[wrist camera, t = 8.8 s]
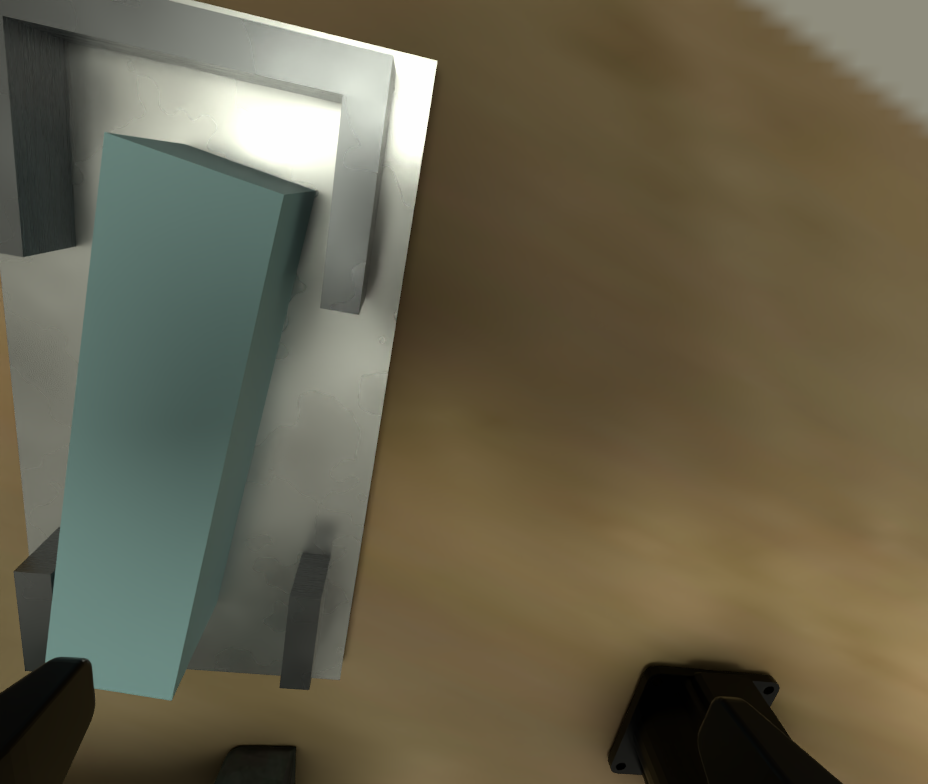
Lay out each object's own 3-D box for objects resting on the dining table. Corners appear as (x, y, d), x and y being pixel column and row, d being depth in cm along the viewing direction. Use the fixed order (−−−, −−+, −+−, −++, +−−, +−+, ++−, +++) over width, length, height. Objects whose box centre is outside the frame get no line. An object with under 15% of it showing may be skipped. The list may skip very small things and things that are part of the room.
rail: (216, 602, 20) (171, 700, 16) (114, 582, 19) (43, 680, 15) (316, 190, 15) (283, 194, 11) (184, 144, 14) (104, 132, 11)
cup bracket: (342, 659, 23) (332, 731, 20) (56, 637, 21) (-3, 713, 18) (436, 68, 15) (441, 41, 12) (-2, -40, 13) (-121, -102, 10)
